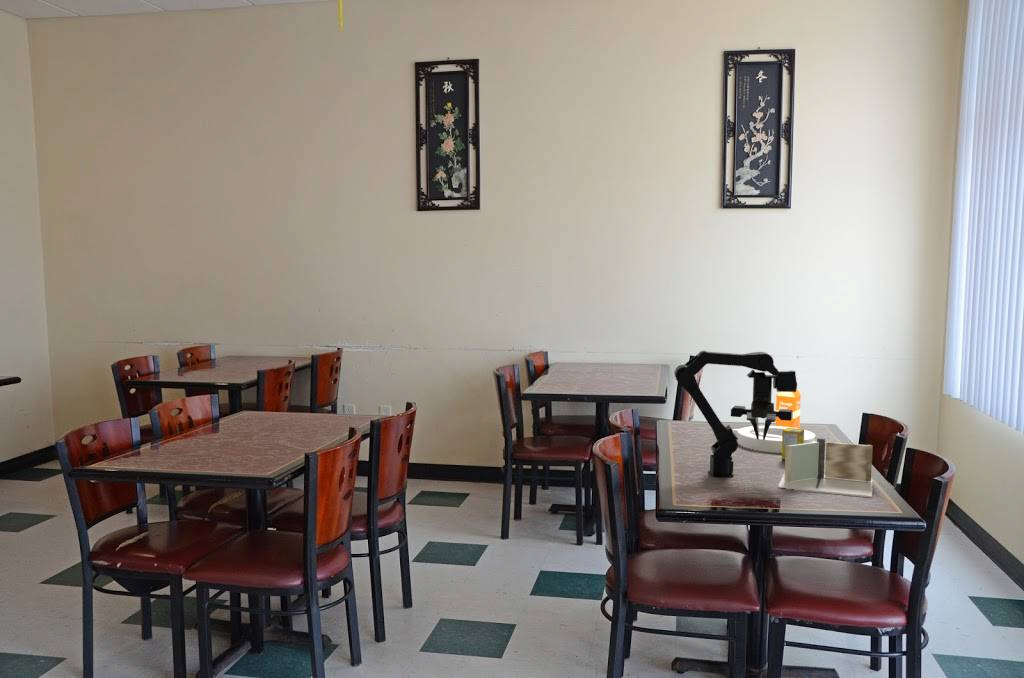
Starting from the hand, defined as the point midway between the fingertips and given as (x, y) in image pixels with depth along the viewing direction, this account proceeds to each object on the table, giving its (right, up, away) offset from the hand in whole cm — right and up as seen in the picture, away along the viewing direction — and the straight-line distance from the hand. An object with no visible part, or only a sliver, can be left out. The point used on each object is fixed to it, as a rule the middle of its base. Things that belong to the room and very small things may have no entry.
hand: (760, 439), depth 278 cm
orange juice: (+32, -5, +74) cm, 81 cm away
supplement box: (+18, -10, +22) cm, 30 cm away
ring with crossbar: (+19, -8, +48) cm, 52 cm away
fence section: (+24, -13, -5) cm, 28 cm away
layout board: (+18, -13, -9) cm, 24 cm away
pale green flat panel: (+11, -12, -6) cm, 17 cm away
